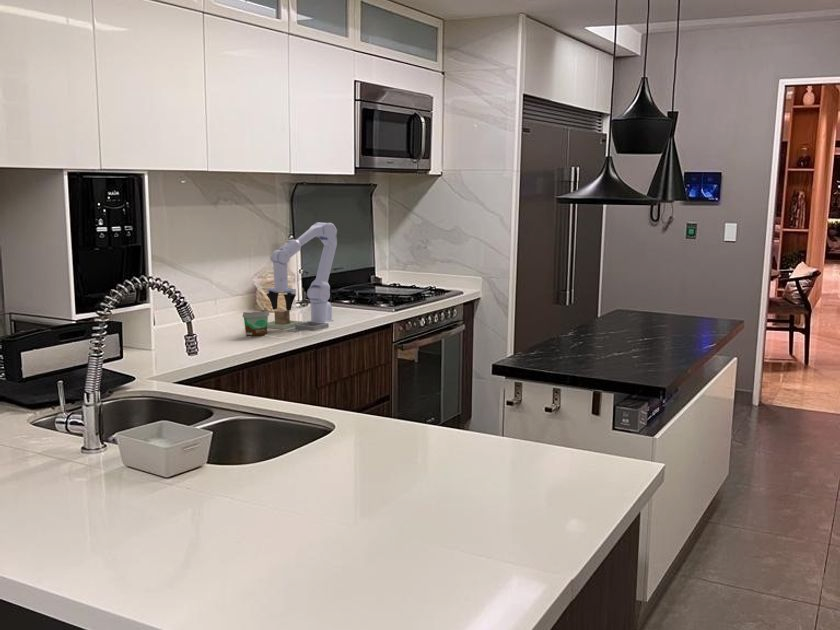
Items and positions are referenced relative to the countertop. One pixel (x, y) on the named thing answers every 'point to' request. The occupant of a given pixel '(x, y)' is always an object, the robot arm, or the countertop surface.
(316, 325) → the grey tray
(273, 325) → the green tray
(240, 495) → the countertop surface
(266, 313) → the food container
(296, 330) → the slate coaster
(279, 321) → the walnut block
